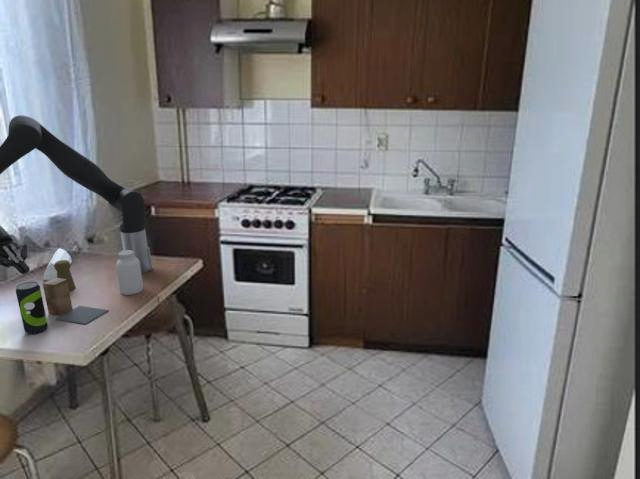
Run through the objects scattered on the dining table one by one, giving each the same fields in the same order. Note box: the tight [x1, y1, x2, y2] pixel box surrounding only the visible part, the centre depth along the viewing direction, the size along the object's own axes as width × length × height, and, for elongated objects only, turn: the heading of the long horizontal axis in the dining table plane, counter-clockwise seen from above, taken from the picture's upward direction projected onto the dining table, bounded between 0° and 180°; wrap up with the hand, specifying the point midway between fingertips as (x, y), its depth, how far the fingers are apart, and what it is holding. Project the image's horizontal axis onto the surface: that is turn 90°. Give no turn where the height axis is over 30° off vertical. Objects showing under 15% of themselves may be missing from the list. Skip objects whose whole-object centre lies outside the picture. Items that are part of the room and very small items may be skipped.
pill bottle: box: [115, 250, 144, 296], centre depth 171 cm, size 8×8×15 cm
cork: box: [54, 260, 76, 292], centre depth 174 cm, size 6×6×11 cm
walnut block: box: [42, 278, 74, 317], centre depth 156 cm, size 5×5×11 cm
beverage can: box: [15, 280, 49, 335], centre depth 143 cm, size 6×6×15 cm
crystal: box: [43, 247, 72, 282], centre depth 194 cm, size 7×7×24 cm
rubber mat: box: [55, 305, 109, 326], centre depth 154 cm, size 12×10×1 cm
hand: (26, 272), depth 156 cm, fingers closed
